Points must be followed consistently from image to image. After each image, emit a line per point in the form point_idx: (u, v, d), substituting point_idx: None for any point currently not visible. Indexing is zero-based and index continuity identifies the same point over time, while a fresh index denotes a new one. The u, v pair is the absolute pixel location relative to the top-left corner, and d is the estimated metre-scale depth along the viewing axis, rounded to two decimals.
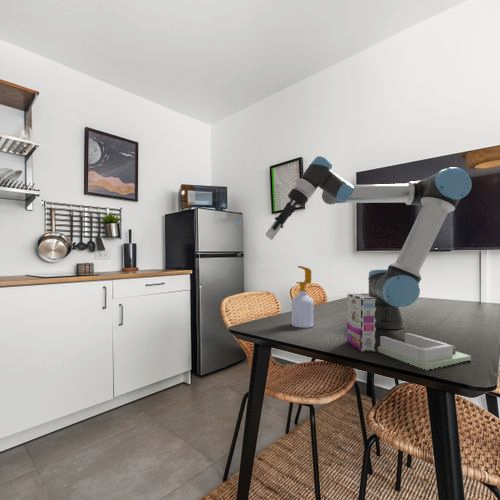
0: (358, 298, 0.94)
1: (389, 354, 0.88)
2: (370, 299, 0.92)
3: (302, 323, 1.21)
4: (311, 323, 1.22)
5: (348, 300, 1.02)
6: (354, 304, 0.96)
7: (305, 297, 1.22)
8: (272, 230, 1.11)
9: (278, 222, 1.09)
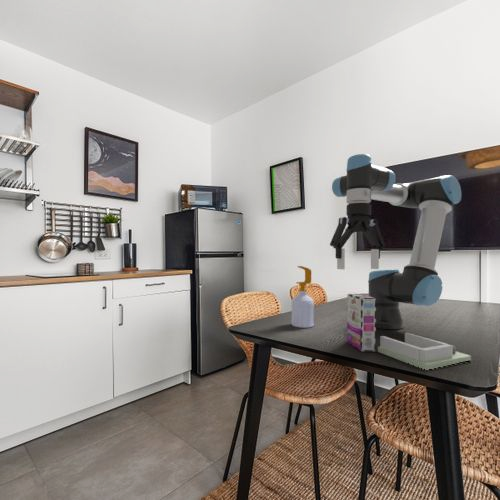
0: (358, 298, 0.94)
1: (389, 354, 0.88)
2: (370, 299, 0.92)
3: (302, 323, 1.21)
4: (311, 323, 1.22)
5: (348, 300, 1.02)
6: (354, 304, 0.96)
7: (305, 297, 1.22)
8: None
9: None
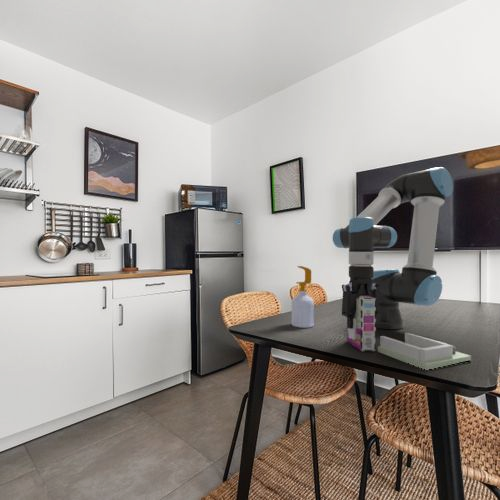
0: (358, 298, 0.94)
1: (389, 354, 0.88)
2: (370, 299, 0.92)
3: (302, 323, 1.21)
4: (311, 323, 1.22)
5: None
6: None
7: (305, 297, 1.22)
8: None
9: None
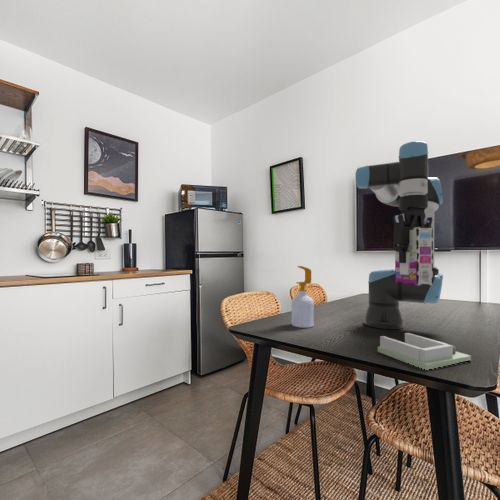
0: (412, 229, 0.86)
1: (389, 354, 0.88)
2: (426, 228, 0.84)
3: (302, 323, 1.21)
4: (311, 323, 1.22)
5: None
6: None
7: (305, 297, 1.22)
8: None
9: None
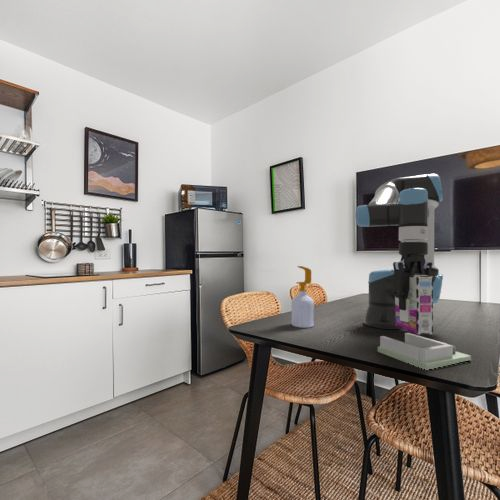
0: (412, 276, 0.85)
1: (389, 354, 0.88)
2: (426, 277, 0.84)
3: (302, 323, 1.21)
4: (311, 323, 1.22)
5: None
6: None
7: (305, 297, 1.22)
8: None
9: None
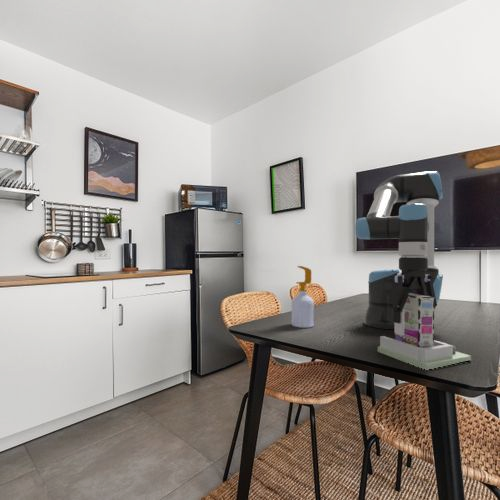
0: (414, 297, 0.85)
1: (389, 354, 0.88)
2: (428, 298, 0.84)
3: (302, 323, 1.21)
4: (311, 323, 1.22)
5: None
6: (408, 303, 0.88)
7: (305, 297, 1.22)
8: None
9: None
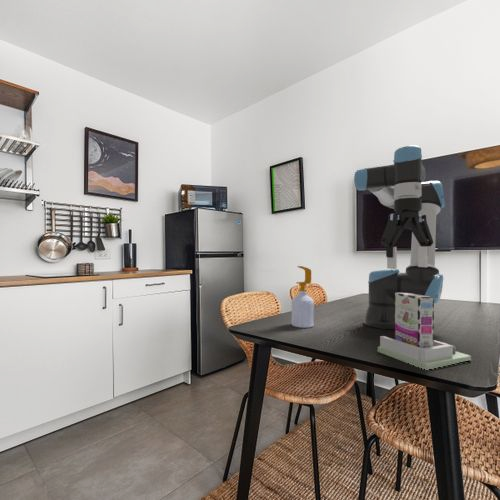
0: (413, 297, 0.85)
1: (389, 354, 0.88)
2: (428, 298, 0.84)
3: (302, 323, 1.21)
4: (311, 323, 1.22)
5: (396, 299, 0.93)
6: (407, 303, 0.88)
7: (305, 297, 1.22)
8: None
9: None
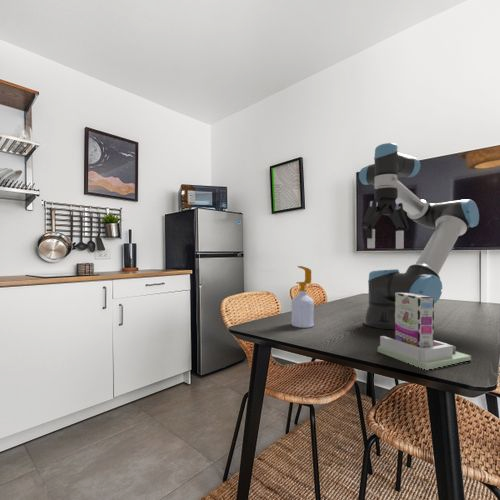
0: (413, 297, 0.85)
1: (389, 354, 0.88)
2: (428, 298, 0.84)
3: (302, 323, 1.21)
4: (311, 323, 1.22)
5: (396, 299, 0.93)
6: (408, 303, 0.88)
7: (305, 297, 1.22)
8: None
9: None
